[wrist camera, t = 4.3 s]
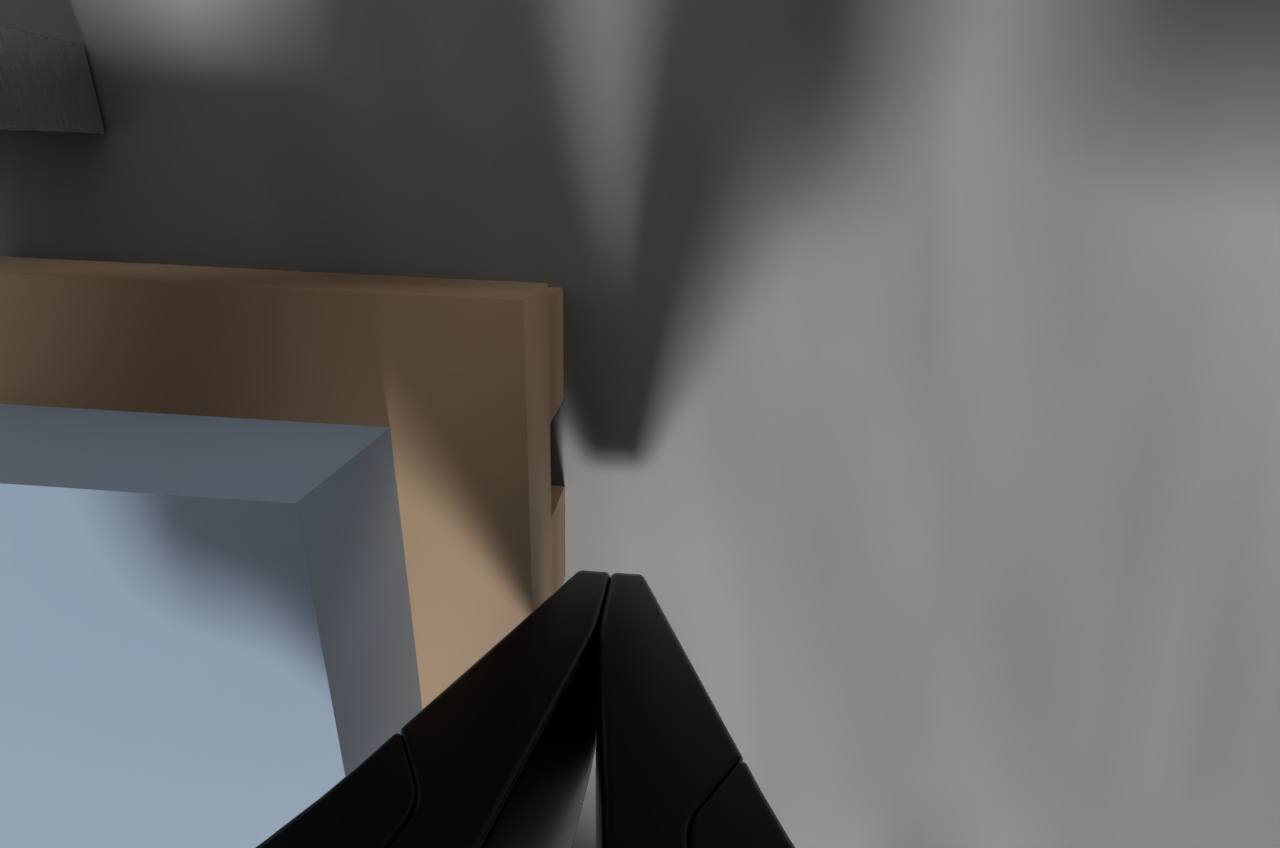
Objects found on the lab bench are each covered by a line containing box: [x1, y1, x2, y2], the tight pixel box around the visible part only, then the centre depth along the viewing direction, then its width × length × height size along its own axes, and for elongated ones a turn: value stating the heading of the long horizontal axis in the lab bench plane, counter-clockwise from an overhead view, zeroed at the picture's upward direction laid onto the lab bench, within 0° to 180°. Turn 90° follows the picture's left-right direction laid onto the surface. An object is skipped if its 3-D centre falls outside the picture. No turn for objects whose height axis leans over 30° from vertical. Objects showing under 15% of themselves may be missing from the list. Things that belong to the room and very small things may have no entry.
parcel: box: [0, 404, 423, 848], centre depth 7 cm, size 5×5×2 cm
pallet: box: [0, 256, 565, 709], centre depth 9 cm, size 8×8×2 cm
